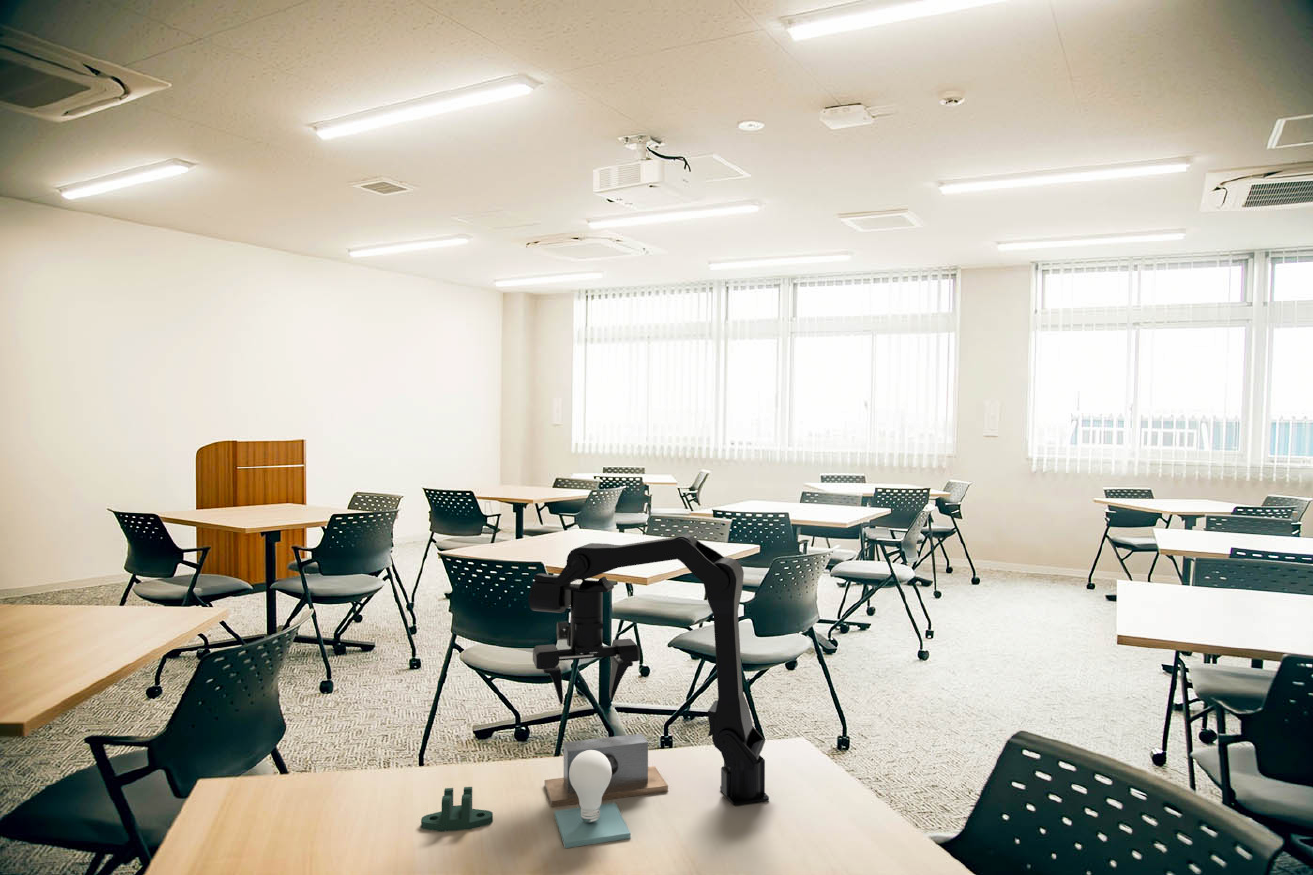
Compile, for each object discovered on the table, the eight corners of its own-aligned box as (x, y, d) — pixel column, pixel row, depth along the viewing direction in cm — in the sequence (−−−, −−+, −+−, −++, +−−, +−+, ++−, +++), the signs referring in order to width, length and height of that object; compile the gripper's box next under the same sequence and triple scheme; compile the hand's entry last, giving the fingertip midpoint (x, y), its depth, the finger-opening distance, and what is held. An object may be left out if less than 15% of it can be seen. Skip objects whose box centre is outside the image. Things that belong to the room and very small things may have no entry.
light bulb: (605, 835, 115) (606, 762, 115) (563, 830, 117) (563, 758, 117) (616, 813, 122) (616, 744, 122) (575, 810, 123) (575, 741, 123)
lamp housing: (654, 771, 139) (654, 727, 139) (667, 791, 131) (667, 744, 131) (544, 785, 133) (544, 739, 133) (551, 807, 126) (551, 758, 126)
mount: (493, 814, 123) (493, 783, 123) (491, 828, 119) (491, 796, 119) (423, 819, 122) (423, 788, 122) (418, 834, 118) (418, 801, 118)
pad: (615, 807, 126) (615, 802, 126) (630, 838, 116) (630, 832, 116) (554, 815, 123) (554, 810, 123) (564, 848, 113) (564, 842, 113)
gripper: (625, 602, 149) (625, 682, 149) (529, 608, 143) (528, 691, 144) (640, 615, 138) (640, 701, 138) (537, 622, 133) (536, 712, 133)
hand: (586, 700), depth 138 cm, fingers open, 9 cm apart
